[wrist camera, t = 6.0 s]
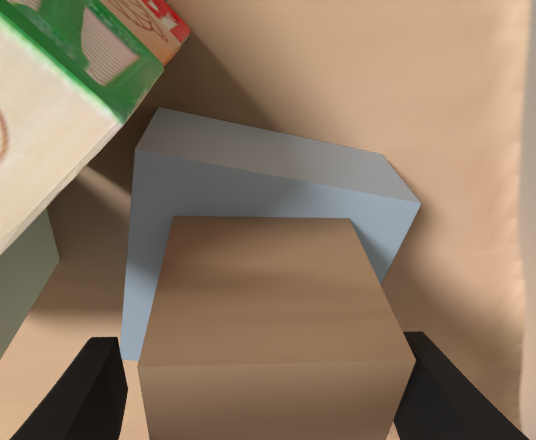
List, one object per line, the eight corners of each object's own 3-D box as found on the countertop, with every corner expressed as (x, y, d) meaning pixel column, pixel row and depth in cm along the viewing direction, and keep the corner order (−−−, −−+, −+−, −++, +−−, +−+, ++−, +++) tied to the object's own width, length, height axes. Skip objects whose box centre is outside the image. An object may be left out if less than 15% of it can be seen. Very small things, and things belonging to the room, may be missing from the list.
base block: (315, 306, 19) (333, 379, 16) (141, 283, 17) (119, 358, 14) (378, 150, 15) (421, 203, 12) (160, 104, 13) (134, 149, 10)
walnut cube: (325, 337, 14) (365, 493, 10) (182, 340, 14) (160, 505, 10) (349, 218, 12) (416, 359, 7) (173, 216, 11) (137, 367, 7)
